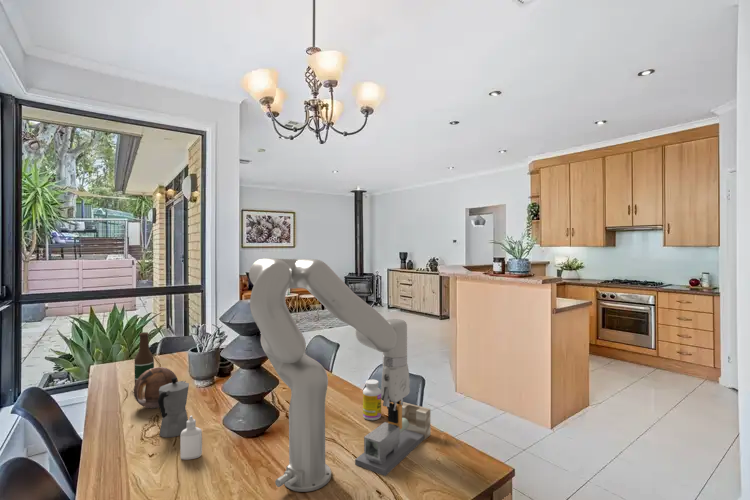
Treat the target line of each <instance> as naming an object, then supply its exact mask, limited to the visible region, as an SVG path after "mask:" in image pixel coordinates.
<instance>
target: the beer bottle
mask: <svg viewBox="0 0 750 500" xmlns="http://www.w3.org/2000/svg"><path fill="white" fill-rule="evenodd" d="M138 336H139V346H138V352H137V353H136V354H135V357H134V384H135V383H136V381H137V379H138V378H139V377H140V376H141V375H142V374H143V373H144V372H145V371H147V370H149V369H152V368H155V359H154V355H153V352H151V350H150V345H149V332H145V331H144V332H140V333H139V335H138Z"/></svg>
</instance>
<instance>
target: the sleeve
mask: <svg viewBox="0 0 750 500" xmlns="http://www.w3.org/2000/svg"><path fill="white" fill-rule="evenodd" d="M373 442H374V443H377V444H378V450H376V449H375V448H374V447H373ZM399 444H400V426H397V425H393V424H390V423H388V422H386V421H384V422H383V423H381V424H380V425H379V426H378V427H376V428H375V429H373V430H372V431H370V432H369V433H367V434H366V435H365V436H364V437H363V453H364V455H365V456H366V459H367V460H370V461H373V462H375V463H378V464H383V463H384V462H385V461H386V455H387V454H388V453H389V452H392V453H395V452H396V451H397V450H398V445H399Z"/></svg>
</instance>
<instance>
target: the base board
mask: <svg viewBox="0 0 750 500" xmlns="http://www.w3.org/2000/svg"><path fill="white" fill-rule="evenodd" d="M423 441H424V435H423V434H420V433H416V432H413V431H410V430H406V429H405V430H404V431H403V432H401V433H400V444H399V445H398V450H397V451H396V452H395V453H392V452H389V453H388V454H387V455H386V461H385V462H384V463H383V464H378V463H375V462H373V461H370V460H367V459H366V456H365V455H364V452H363V453H362V454H360V455H359V456H358V457H356V458H355V459H354V463H355V464H354V465H355V466H358V467H360V468H363V469H366V470H369V471H371V472H373V473H376V474H379V475H381V476H385V477H386V476H387V475H388V474H389V473H390V472H392V470H394V468H396V466H398V465H399V464H400V463H401V462H402V461H403V460H404V459H405V458H406V457H407V456H408V455H410V453H412V451H414V450H415V449H416V448H417V447H418V446H419V445H420V444H421V443H422V442H423Z"/></svg>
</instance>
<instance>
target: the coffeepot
mask: <svg viewBox="0 0 750 500" xmlns="http://www.w3.org/2000/svg"><path fill="white" fill-rule="evenodd" d="M177 379H178V377H177V378H172V383H169V384H166V385H164V386H161V387H160V389H159V395H160V396H159V398H158V404H159V411H160V414H161V422H160V429H159V436H160V437H161V438H165V439H166V438H167V439H168V438H176V437H179V436H180V435H181V432H182V431H183V430H184V429H186V428H187V421H188V420H189V418H188V413H187V409H186V408H187V407H186V406H187V400H188V394H189V386H190V383H189V382H186V380H178V382H176V380H177Z"/></svg>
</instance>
